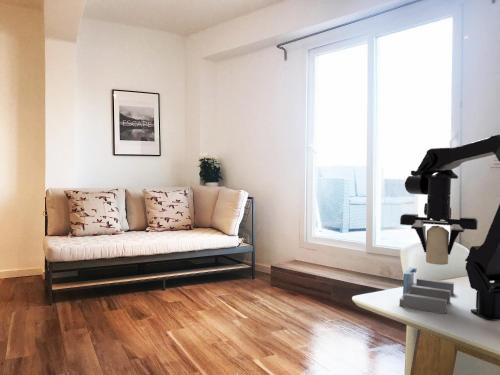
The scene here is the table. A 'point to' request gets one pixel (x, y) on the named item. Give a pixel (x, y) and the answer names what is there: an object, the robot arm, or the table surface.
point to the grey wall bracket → (425, 293)
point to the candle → (437, 245)
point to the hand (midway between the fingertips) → (437, 253)
